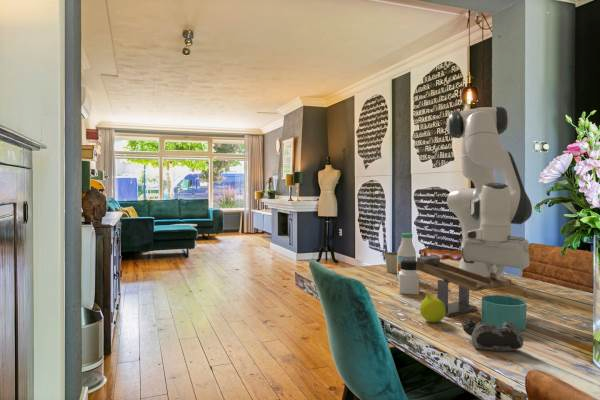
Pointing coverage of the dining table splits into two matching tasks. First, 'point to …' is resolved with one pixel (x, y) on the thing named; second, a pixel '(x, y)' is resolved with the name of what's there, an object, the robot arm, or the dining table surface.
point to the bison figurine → (494, 336)
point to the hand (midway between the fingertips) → (494, 278)
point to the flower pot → (391, 261)
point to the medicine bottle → (408, 278)
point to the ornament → (432, 308)
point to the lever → (457, 274)
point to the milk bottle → (405, 251)
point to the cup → (504, 311)
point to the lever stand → (456, 306)
